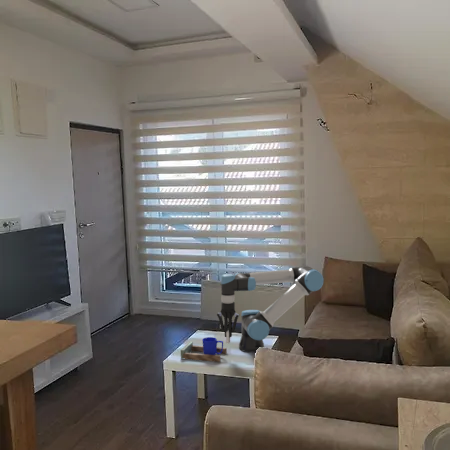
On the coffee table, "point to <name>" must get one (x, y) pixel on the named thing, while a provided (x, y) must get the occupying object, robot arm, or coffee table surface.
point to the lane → (204, 357)
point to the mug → (211, 346)
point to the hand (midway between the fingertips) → (228, 342)
